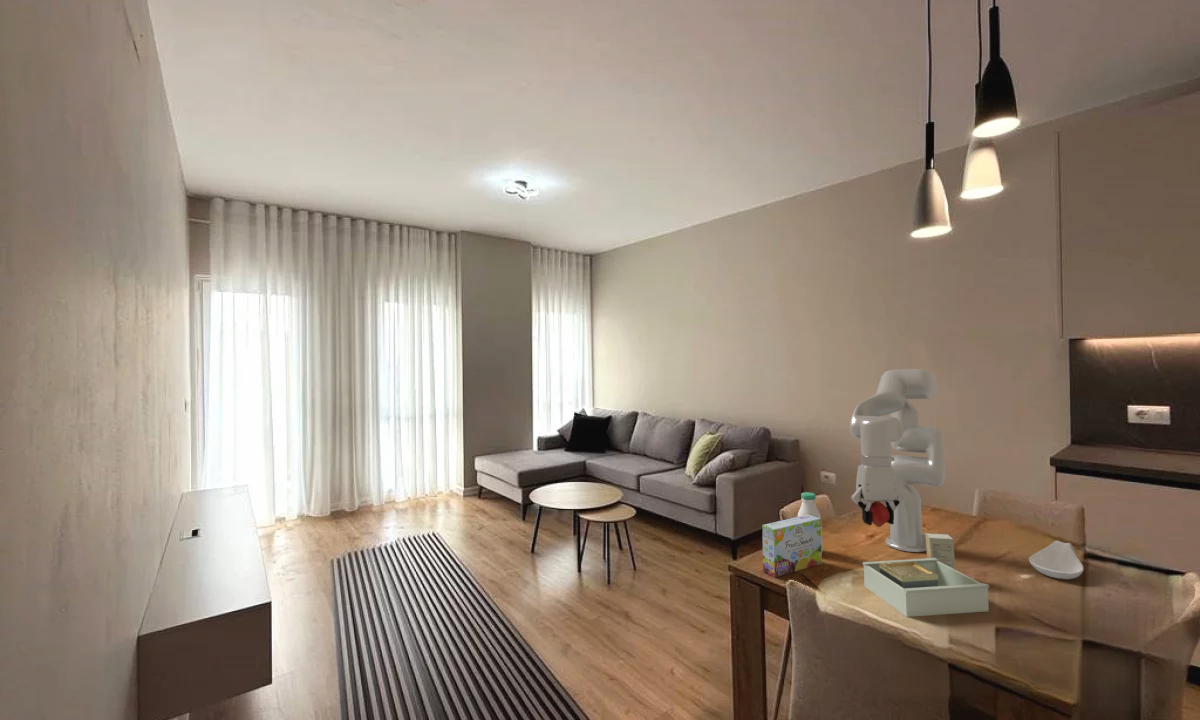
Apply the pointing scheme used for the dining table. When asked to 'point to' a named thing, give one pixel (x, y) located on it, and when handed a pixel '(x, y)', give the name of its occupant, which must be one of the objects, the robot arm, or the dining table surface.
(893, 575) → the tin
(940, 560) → the skincare box
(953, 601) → the box
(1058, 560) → the spoon rest
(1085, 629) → the dining table surface
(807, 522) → the snack box
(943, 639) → the dining table surface
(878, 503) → the onion
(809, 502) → the milk bottle
